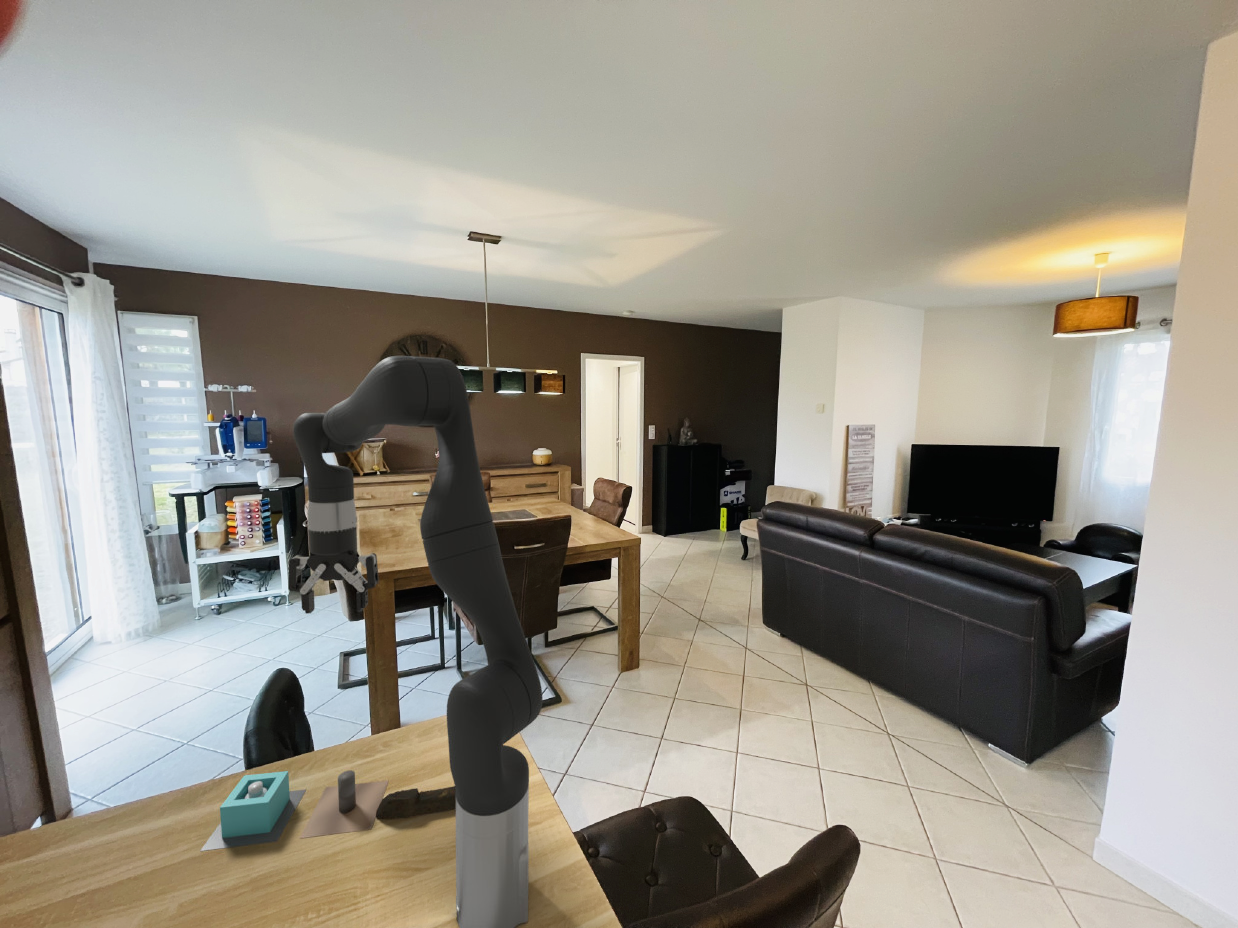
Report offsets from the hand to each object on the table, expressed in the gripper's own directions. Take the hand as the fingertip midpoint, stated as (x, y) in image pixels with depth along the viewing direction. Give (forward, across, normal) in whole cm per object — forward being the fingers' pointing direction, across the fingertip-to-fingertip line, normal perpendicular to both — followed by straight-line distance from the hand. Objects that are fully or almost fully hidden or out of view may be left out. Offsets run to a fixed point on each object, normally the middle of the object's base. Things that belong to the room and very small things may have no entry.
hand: (335, 610), depth 89 cm
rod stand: (+28, +6, -15) cm, 32 cm away
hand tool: (+29, +21, -18) cm, 39 cm away
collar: (+27, -7, -15) cm, 32 cm away
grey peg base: (+28, -7, -15) cm, 33 cm away
